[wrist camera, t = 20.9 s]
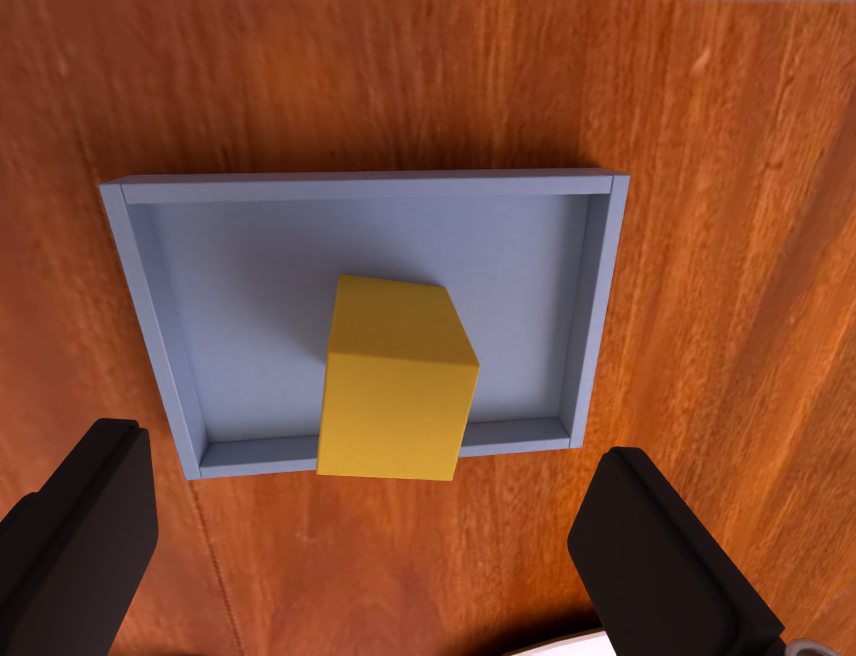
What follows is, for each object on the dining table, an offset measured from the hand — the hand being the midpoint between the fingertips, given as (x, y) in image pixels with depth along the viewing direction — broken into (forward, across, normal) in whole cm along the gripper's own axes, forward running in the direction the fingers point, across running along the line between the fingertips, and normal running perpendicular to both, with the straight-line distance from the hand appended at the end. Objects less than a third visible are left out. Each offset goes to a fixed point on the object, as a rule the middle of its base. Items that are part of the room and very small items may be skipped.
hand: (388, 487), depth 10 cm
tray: (+9, 0, 0) cm, 9 cm away
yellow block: (+9, 0, +1) cm, 9 cm away
